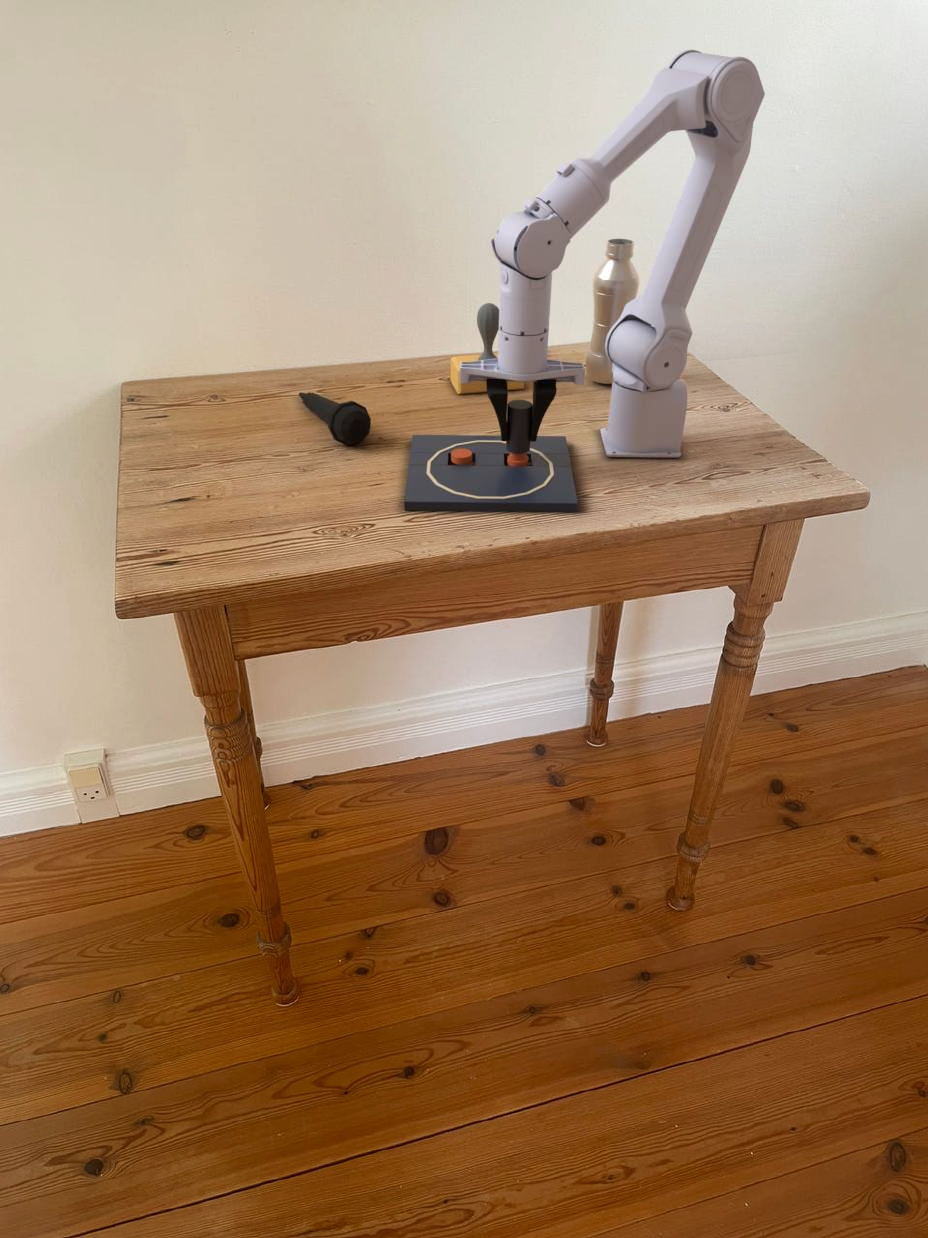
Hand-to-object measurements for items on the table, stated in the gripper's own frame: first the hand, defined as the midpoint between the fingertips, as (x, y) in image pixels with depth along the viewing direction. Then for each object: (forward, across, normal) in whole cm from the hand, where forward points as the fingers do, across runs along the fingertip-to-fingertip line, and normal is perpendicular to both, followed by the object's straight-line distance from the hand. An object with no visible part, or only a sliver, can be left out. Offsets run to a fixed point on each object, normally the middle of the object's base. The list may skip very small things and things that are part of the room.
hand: (518, 437), depth 113 cm
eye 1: (+4, +7, 0) cm, 8 cm away
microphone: (+4, +24, -13) cm, 28 cm away
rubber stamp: (+4, +4, -27) cm, 28 cm away
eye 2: (+5, 0, 0) cm, 5 cm away
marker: (+3, 0, 0) cm, 3 cm away
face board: (+4, +4, +2) cm, 6 cm away
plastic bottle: (+4, -14, -29) cm, 33 cm away
